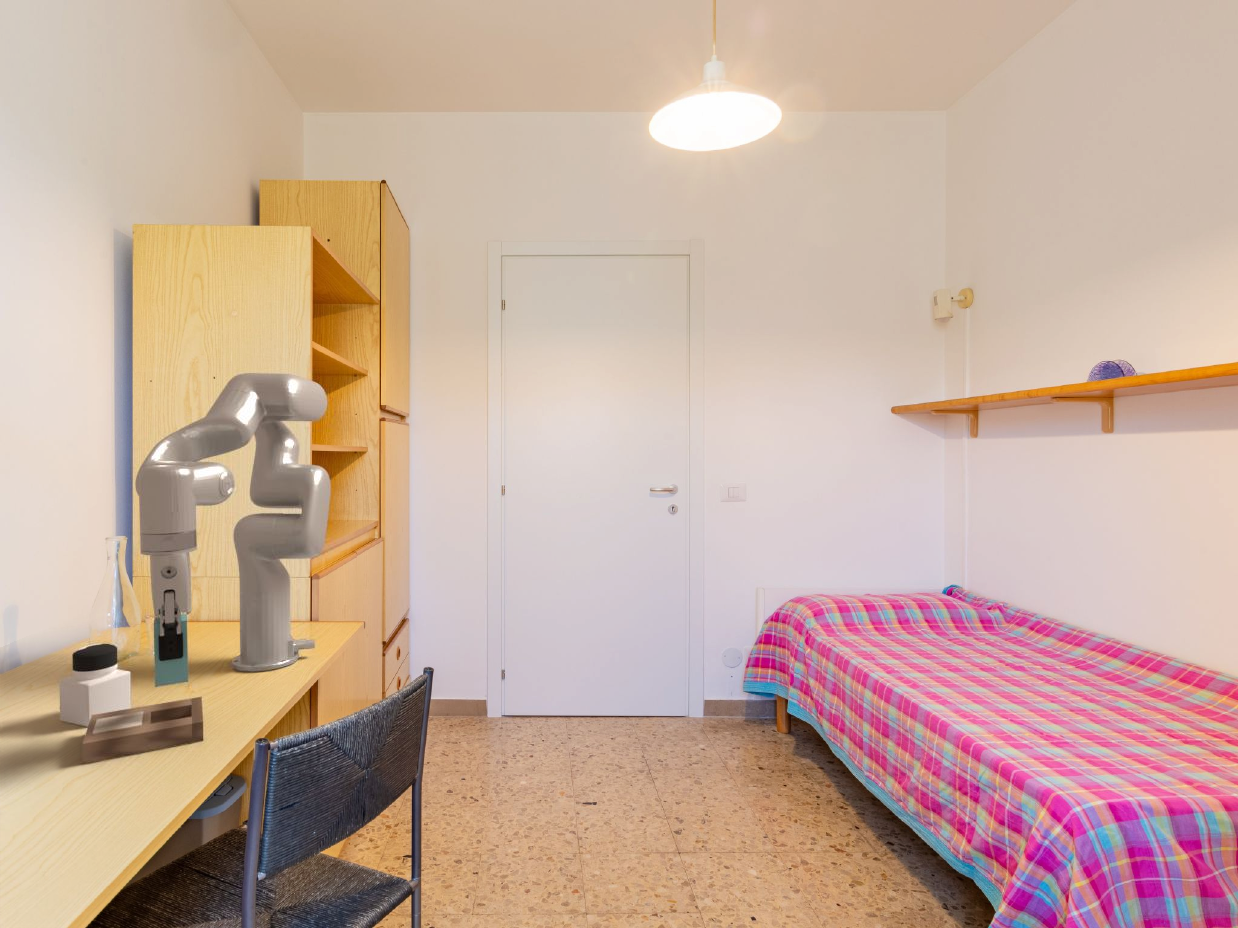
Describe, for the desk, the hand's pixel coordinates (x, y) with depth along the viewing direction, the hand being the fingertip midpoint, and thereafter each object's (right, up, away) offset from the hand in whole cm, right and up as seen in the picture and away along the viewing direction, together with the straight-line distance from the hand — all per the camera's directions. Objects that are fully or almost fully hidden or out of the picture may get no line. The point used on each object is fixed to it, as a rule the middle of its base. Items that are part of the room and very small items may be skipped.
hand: (171, 653), depth 109 cm
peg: (0, -4, 0) cm, 4 cm away
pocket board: (-3, -13, -2) cm, 13 cm away
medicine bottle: (-17, -13, +6) cm, 22 cm away
